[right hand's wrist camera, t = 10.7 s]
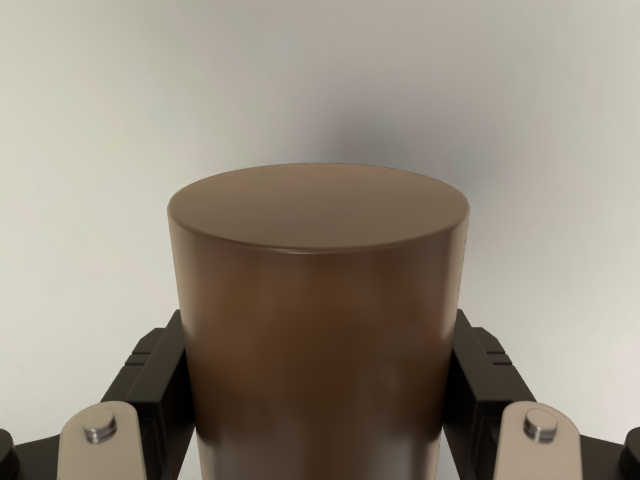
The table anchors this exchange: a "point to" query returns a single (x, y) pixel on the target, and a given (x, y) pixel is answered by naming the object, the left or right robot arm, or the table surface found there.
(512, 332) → the table surface
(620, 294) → the table surface
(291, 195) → the rod
